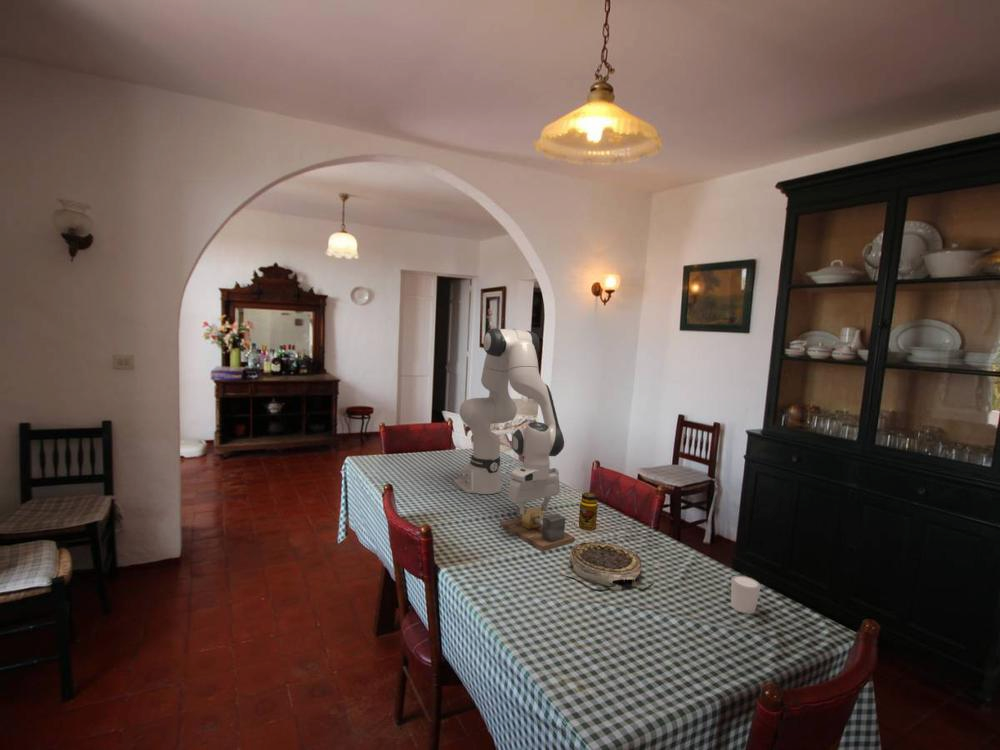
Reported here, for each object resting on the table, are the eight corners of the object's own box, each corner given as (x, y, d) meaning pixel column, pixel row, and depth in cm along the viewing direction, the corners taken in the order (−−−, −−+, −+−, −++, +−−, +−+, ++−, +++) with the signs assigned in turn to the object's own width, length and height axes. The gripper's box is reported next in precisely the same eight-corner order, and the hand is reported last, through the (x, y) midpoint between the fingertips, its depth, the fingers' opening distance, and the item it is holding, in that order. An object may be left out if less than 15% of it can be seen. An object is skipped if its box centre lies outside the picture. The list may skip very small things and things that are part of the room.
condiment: (582, 532, 173) (585, 498, 172) (571, 522, 181) (574, 490, 180) (601, 530, 175) (604, 497, 174) (590, 521, 183) (592, 489, 182)
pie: (538, 562, 149) (539, 546, 149) (597, 542, 167) (599, 528, 167) (615, 606, 128) (617, 587, 128) (673, 578, 146) (675, 561, 145)
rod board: (500, 526, 174) (501, 502, 173) (530, 518, 182) (532, 496, 181) (542, 551, 156) (544, 524, 155) (574, 541, 165) (576, 516, 164)
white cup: (732, 597, 135) (735, 572, 134) (760, 607, 131) (763, 581, 130) (725, 607, 130) (728, 581, 129) (754, 618, 125) (757, 591, 125)
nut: (521, 525, 171) (522, 509, 170) (534, 522, 174) (535, 506, 174) (529, 529, 168) (530, 513, 167) (541, 526, 171) (543, 510, 170)
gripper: (552, 465, 178) (550, 503, 179) (506, 472, 165) (504, 513, 167) (564, 469, 173) (562, 509, 174) (518, 477, 160) (516, 520, 162)
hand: (533, 511), depth 170 cm, fingers open, 8 cm apart
